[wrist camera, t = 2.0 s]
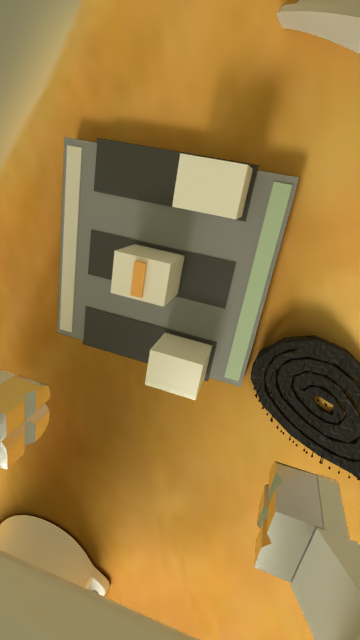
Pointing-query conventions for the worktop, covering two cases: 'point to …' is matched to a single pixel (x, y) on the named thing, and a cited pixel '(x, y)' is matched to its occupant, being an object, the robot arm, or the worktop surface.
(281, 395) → the hairbrush
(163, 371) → the block
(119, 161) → the panel
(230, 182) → the block
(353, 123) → the worktop surface
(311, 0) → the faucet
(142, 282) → the breaker
